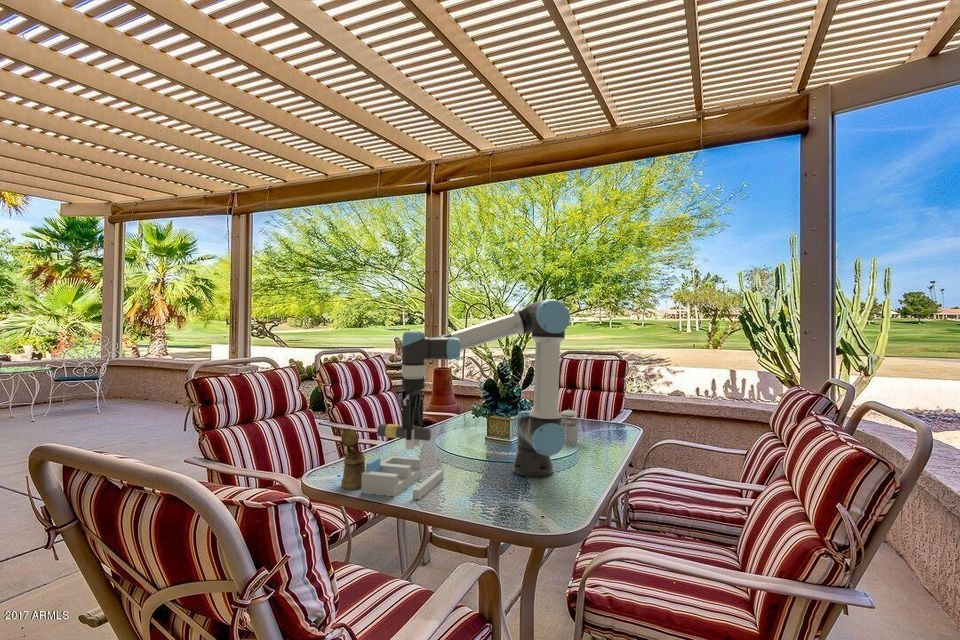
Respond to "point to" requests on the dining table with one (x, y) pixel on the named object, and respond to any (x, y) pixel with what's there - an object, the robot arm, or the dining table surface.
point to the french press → (570, 427)
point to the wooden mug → (352, 461)
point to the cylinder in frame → (397, 477)
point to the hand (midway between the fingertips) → (412, 447)
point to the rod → (403, 432)
